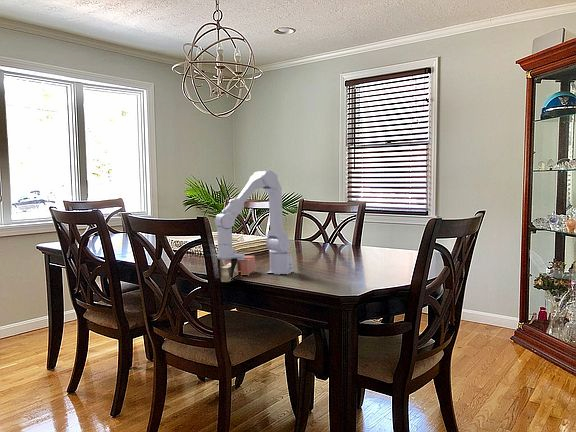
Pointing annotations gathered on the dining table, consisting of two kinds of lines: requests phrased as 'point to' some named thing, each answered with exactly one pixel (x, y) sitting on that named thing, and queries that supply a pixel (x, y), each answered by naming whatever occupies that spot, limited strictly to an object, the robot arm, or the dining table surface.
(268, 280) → the dining table surface
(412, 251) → the dining table surface
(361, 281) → the dining table surface
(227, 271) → the cream block
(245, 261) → the dispenser
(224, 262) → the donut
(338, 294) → the dining table surface
